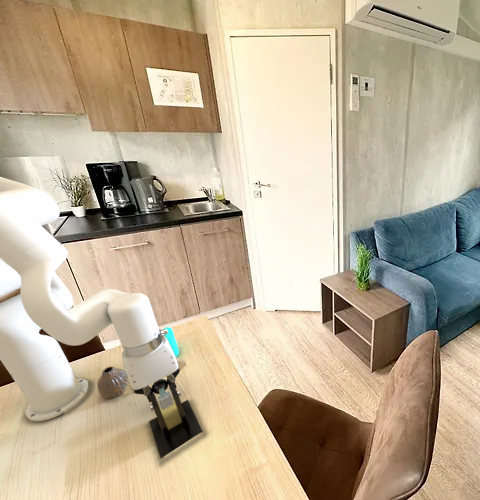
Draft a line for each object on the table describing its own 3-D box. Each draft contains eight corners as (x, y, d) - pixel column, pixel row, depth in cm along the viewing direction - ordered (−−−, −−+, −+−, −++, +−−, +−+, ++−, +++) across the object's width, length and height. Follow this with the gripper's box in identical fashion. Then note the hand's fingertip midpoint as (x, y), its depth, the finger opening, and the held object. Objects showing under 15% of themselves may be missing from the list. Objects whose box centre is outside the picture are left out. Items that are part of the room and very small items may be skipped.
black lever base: (150, 424, 72) (135, 390, 67) (188, 402, 77) (177, 369, 72) (162, 462, 64) (146, 426, 59) (203, 434, 69) (192, 400, 64)
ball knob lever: (153, 394, 74) (148, 381, 74) (169, 386, 77) (164, 374, 76) (160, 414, 64) (154, 400, 64) (177, 404, 67) (172, 391, 66)
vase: (117, 405, 76) (105, 382, 73) (96, 401, 78) (84, 377, 74) (139, 384, 83) (129, 362, 79) (119, 380, 84) (109, 358, 80)
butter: (161, 417, 72) (158, 410, 71) (178, 407, 75) (175, 400, 74) (166, 431, 69) (163, 424, 68) (184, 420, 71) (181, 413, 70)
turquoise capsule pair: (142, 356, 92) (132, 332, 88) (176, 343, 98) (169, 320, 94) (144, 376, 85) (134, 351, 81) (181, 361, 91) (174, 336, 87)
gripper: (177, 320, 75) (192, 370, 83) (97, 351, 65) (123, 406, 72) (185, 334, 70) (201, 386, 78) (100, 370, 60) (128, 427, 67)
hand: (163, 395), depth 75 cm, fingers closed on ball knob lever, 3 cm apart
